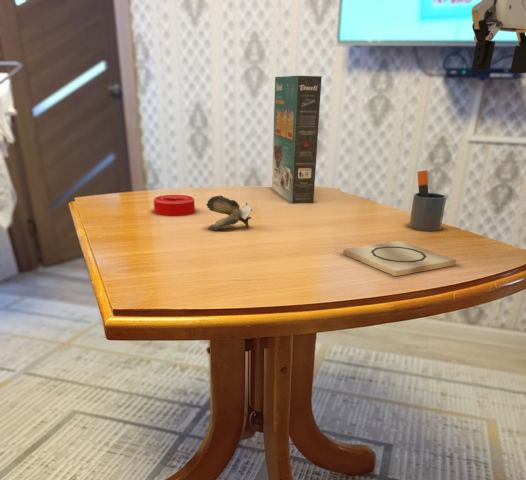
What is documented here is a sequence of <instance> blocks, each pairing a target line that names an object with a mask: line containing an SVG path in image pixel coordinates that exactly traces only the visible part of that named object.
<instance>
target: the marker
mask: <svg viewBox="0 0 526 480" xmlns="http://www.w3.org/2000/svg"><path fill="white" fill-rule="evenodd" d="M416 173H417V187H418V193H419V196H420V197H426V198H429V197H428V193H429V177H428V176H429V175H428V169H426V170H419V171H417V172H416Z"/></svg>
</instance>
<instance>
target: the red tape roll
mask: <svg viewBox="0 0 526 480" xmlns="http://www.w3.org/2000/svg"><path fill="white" fill-rule="evenodd" d="M195 205H196V204H195V199H194V197H192V196H190V195H184V194H163V195H159V196H158V195H157V196H155V197H154V199H153V209H154V213H155V214H157V215H160V216H167V217H168V216H169V217H177V216H187V215H191V214H195V212H196V211H195V210H196V209H195V208H196V207H195Z"/></svg>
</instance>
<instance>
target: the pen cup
mask: <svg viewBox="0 0 526 480" xmlns="http://www.w3.org/2000/svg"><path fill="white" fill-rule="evenodd" d="M428 197H429V198H426V197H420V196H419V192H415V193H413V199H412V205H411V211H410V219H409V224H408V226H409V228H410V229H413V230H416V231H422V232H437V231H440V230H441V229H442V224H443V219H444V213H445V208H446V203H447V195H444V194H440V193H436V192H428Z"/></svg>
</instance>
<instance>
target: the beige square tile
mask: <svg viewBox="0 0 526 480" xmlns="http://www.w3.org/2000/svg"><path fill="white" fill-rule="evenodd" d="M342 251H343V252H342V255H344V256H347V257H349V258H350V259H353V260H355V261H358V262H360V263H363V264H365V265H368V266H370V267H372V268H374V269H377V270H380V271H382V272H384V273H387V274H388V275H391V276H393V277H399V276H405V275H411V274H416V273H420V272H425V271H426V272H427V271H431V270H436V269H441V268H447V267H452V266H455V265H456V261H457V259H456V258H452V257H449V256H446V255H443V254H440V253H438V252H434V251H432V250H428V249H427V248H422V247H420V246H417V245H414V244H411V243H408V242H405V241H402V240H396V241H390V242H382V243H375V244H370V245H363V246H362V245H361V246H355V247H349V248H344V249H343V250H342Z"/></svg>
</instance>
